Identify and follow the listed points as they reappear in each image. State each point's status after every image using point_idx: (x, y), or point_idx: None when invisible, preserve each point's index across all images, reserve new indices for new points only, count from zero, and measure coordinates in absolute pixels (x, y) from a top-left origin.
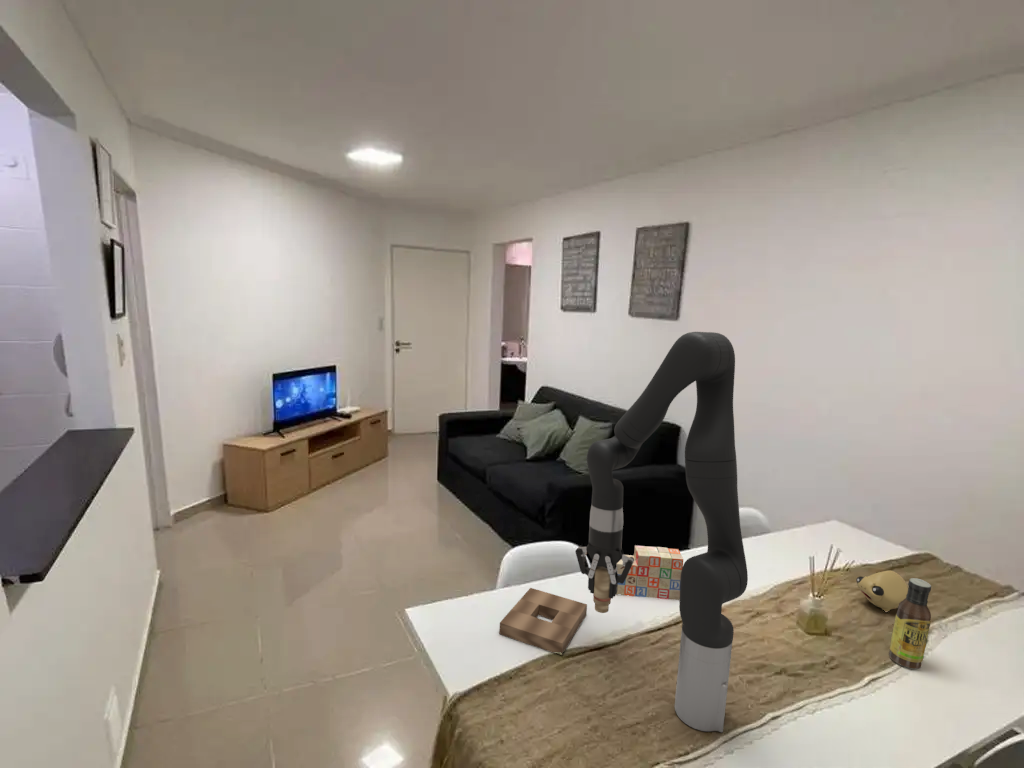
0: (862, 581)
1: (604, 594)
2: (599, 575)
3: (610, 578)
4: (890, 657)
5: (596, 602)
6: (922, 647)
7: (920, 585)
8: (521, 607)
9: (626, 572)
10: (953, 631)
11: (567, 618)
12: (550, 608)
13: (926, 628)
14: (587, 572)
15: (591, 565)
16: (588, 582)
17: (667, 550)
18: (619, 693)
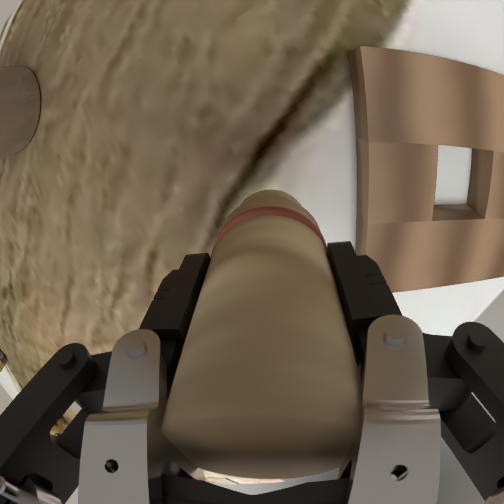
0: (51, 433)
1: (228, 243)
2: (279, 369)
3: (159, 371)
4: (1, 353)
5: (287, 203)
6: None
7: None
8: None
9: (3, 423)
10: (18, 392)
11: (399, 194)
12: (455, 219)
13: None
14: (433, 357)
15: (433, 461)
16: (388, 290)
17: (213, 480)
18: (136, 22)
